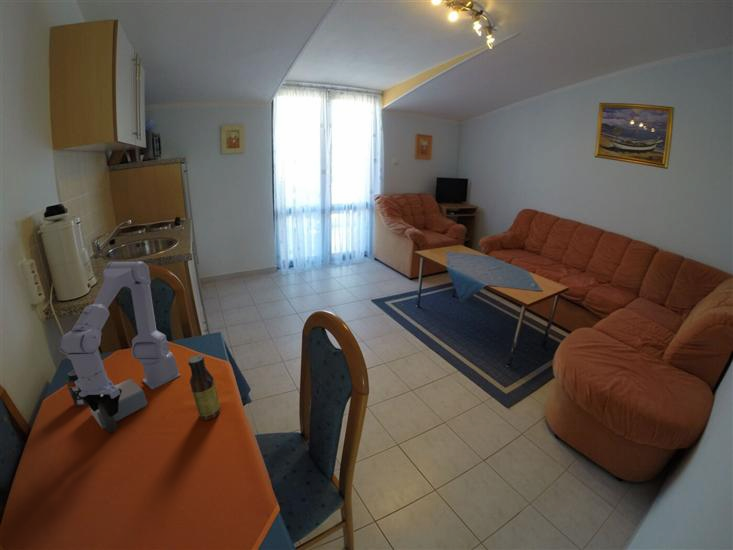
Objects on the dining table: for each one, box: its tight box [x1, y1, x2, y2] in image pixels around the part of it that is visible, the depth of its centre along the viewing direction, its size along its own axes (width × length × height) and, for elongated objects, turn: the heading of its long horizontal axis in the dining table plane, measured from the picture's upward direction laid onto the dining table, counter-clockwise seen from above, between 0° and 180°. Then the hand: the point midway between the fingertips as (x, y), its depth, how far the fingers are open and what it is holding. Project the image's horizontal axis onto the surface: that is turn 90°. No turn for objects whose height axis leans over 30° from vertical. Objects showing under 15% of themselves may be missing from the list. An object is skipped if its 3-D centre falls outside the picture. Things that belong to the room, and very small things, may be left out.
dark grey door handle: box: [97, 389, 148, 433], centre depth 100 cm, size 12×5×10 cm, turn 142°
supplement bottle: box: [66, 369, 88, 407], centre depth 108 cm, size 6×6×11 cm
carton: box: [88, 378, 143, 428], centre depth 105 cm, size 12×9×6 cm
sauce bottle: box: [187, 354, 221, 421], centre depth 100 cm, size 7×6×20 cm
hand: (105, 411), depth 95 cm, fingers open, 6 cm apart
